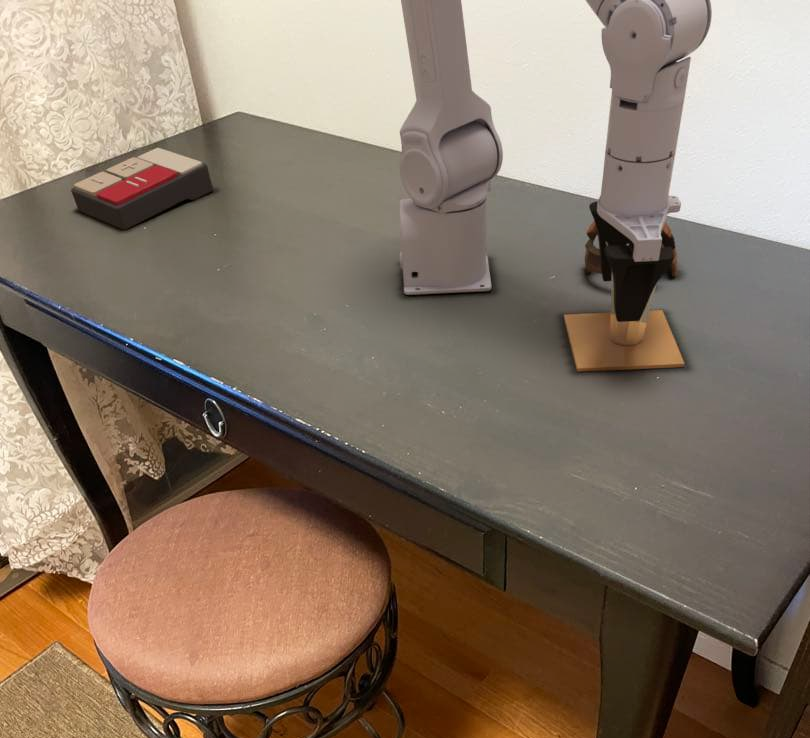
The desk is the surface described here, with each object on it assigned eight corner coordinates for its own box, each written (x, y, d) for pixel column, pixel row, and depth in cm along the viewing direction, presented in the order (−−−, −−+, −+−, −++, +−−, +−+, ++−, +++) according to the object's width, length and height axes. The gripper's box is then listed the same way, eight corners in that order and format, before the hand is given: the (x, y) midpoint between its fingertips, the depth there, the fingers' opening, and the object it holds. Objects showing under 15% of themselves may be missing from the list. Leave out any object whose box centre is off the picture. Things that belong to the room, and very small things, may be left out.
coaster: (576, 371, 80) (577, 368, 80) (563, 317, 87) (563, 314, 87) (684, 367, 79) (684, 363, 79) (661, 313, 86) (662, 309, 86)
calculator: (66, 183, 111) (157, 142, 118) (78, 215, 114) (166, 172, 122) (114, 202, 106) (206, 158, 113) (126, 235, 109) (214, 189, 116)
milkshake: (589, 328, 84) (599, 231, 77) (642, 323, 85) (657, 226, 78) (600, 352, 81) (612, 253, 74) (655, 347, 81) (673, 248, 74)
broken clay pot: (689, 294, 90) (666, 238, 84) (603, 324, 94) (575, 274, 88) (676, 218, 96) (654, 162, 90) (596, 251, 100) (570, 199, 94)
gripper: (710, 181, 65) (680, 337, 75) (669, 117, 75) (647, 261, 85) (618, 186, 65) (600, 340, 75) (590, 122, 76) (577, 264, 85)
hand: (620, 298), depth 80 cm, fingers open, 7 cm apart
